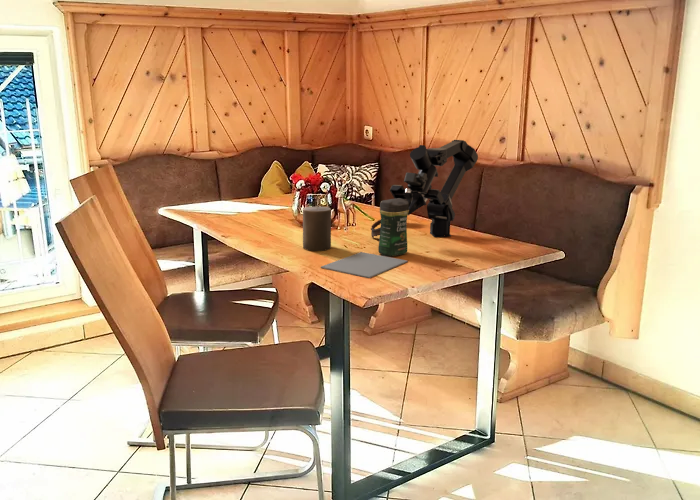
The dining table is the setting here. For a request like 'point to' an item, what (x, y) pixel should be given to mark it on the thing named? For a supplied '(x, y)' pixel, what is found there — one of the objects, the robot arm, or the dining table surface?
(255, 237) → the dining table surface
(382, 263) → the mat
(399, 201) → the coffee jar
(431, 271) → the dining table surface
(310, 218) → the pillar candle
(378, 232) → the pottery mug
